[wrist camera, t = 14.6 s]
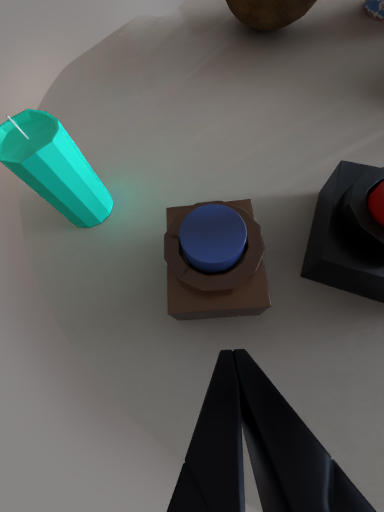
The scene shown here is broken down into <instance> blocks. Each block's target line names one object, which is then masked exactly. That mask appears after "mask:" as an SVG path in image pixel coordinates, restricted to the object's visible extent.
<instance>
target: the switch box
mask: <svg viewBox="0 0 384 512" xmlns="http://www.w3.org/2000/svg"><path fill="white" fill-rule="evenodd" d="M383 181H384V167H382V168H379V167H374V166H368V165H363V164H358V163H353V162H348V161H342V160H341V161H340V163H339V164H338V166H337V167H336V169H335V170H334V172H333V173H332V174H331V176H330V177H329V179H328V180H327V182H326V183H325V185H324V186H323V188H322V189H321V191H320V192H319V196H318V201H317V205H316V209H315V214H314V218H313V222H312V227H311V231H310V235H309V240H308V244H307V249H306V253H305V257H304V262H303V266H302V270H301V275H300V277H303V278H306V279H310V280H313V281H316V282H319V283H322V284H325V285H328V286H332V287H335V288H338V289H341V290H344V291H347V292H350V293H354V294H357V295H360V296H363V297H366V298H369V299H372V300H376V301H379V302H382V303H384V227H383V226H382V225H380V224H379V223H378V222H376V221H375V219H374V217H373V216H372V214H371V212H370V210H369V208H368V199H369V196H370V194H371V193H372V191H373V190H374V189H375V188H376V187H377V186H378V185H379V184H380V183H382V182H383Z"/></svg>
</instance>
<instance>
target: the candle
mask: <svg viewBox="0 0 384 512" xmlns="http://www.w3.org/2000/svg"><path fill="white" fill-rule="evenodd" d="M7 117H8V120H7V121H6V122H4V123H2V124H1V125H0V161H1V162H2V163H3V164H4V165H5V166H6V167H8V168H9V169H10V170H11V171H12V172H14V173H15V174H16V175H17V176H18V177H19V178H20V179H22V180H23V181H24V182H25V183H26V184H27V185H29V186H30V187H31V188H32V189H33V190H34V191H36V192H37V193H38V194H39V195H40V196H41V197H43V198H44V199H45V200H46V201H47V202H49V203H50V204H51V205H52V206H53V207H54V208H56V209H57V210H58V211H59V212H60V213H61V214H63V215H64V216H65V217H66V218H67V219H68V220H70V221H71V222H72V223H73V224H75V225H76V226H77V227H86V228H90V227H93V226H95V225H98V224H100V223H102V222H103V221H104V220H105V219H106V218H107V217H108V216H109V215H110V213H111V210H112V207H113V201H112V198H111V195H110V193H109V192H108V190H107V189H106V188H105V186H104V185H103V183H102V182H101V180H100V179H99V178H98V176H97V175H96V173H95V172H94V170H93V169H92V168H91V166H90V165H89V163H88V162H87V160H86V159H85V158H84V156H83V155H82V153H81V152H80V150H79V149H78V147H77V146H76V145H75V143H74V142H73V140H72V139H71V137H70V136H69V135H68V133H67V132H66V130H65V129H64V127H63V126H62V125H61V123H60V122H59V120H58V119H57V118H55V117H54V116H52V115H51V114H49V113H47V112H46V111H39V110H33V109H27V110H25V111H23V112H21V113H19V114H17V115H15V116H13V117H12V118H10V117H9V116H8V115H7Z"/></svg>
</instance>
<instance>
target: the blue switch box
mask: <svg viewBox="0 0 384 512" xmlns="http://www.w3.org/2000/svg"><path fill="white" fill-rule="evenodd" d="M209 204H218V205H223V206H226V207H229V208H231V209H233V210H234V211H235V212H237V213H238V214H239V215H240V216H241V218H242V219H243V221H244V223H245V225H246V230H247V238H246V242H245V245H244V249H243V252H242V255H241V257H240V259H239V260H238V261H237V262H236V263H235V264H234V265H233V266H232V267H231V268H229V269H227V270H224V271H221V272H216V273H211V272H204V271H201V270H199V269H197V268H195V267H194V266H192V265H191V264H190V263H189V261H188V260H187V259H186V257H185V255H184V252H183V249H182V246H181V243H180V238H179V231H180V227H181V224H182V222H183V220H184V219H185V217H186V216H187V215H188V214H189V213H190V212H191V211H193V210H194V209H196V208H198V207H201V206H204V205H209ZM264 251H265V247H264V243H263V238H262V233H261V228H260V225H259V224H258V223H257V222H256V221H255V220H254V215H253V210H252V205H251V200H250V199H246V200H237V201H227V202H223V201H212V202H203V203H197V204H194V205H190V206H180V207H171V208H167V232H166V233H165V236H164V258H165V261H166V262H167V292H168V314H169V315H170V316H172V317H173V318H175V319H176V320H191V319H205V318H220V317H234V316H249V315H260V314H261V313H263V312H264V311H266V310H267V309H269V308H270V307H272V305H271V300H270V295H269V290H268V285H267V280H266V275H265V270H264V265H263V260H262V256H263V254H264Z"/></svg>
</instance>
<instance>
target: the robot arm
mask: <svg viewBox="0 0 384 512" xmlns="http://www.w3.org/2000/svg"><path fill="white" fill-rule="evenodd" d="M241 424H242V425H241ZM242 428H243V433H244V437H245V441H246V445H247V449H248V453H249V457H250V461H251V465H252V469H253V473H254V477H255V481H256V485H257V489H258V493H259V497H260V501H261V505H262V509H263V512H376V510H375V509H374V508H373V507H372V506H371V504H370V503H369V502H368V501H367V500H366V498H365V497H364V496H363V495H362V494H361V492H360V491H359V490H358V489H357V488H356V486H355V485H354V484H353V483H352V482H351V480H350V479H349V478H348V477H347V475H346V474H345V473H344V472H343V470H342V469H341V468H340V467H339V465H338V464H337V463H336V462H335V461H334V460H333V459H331V456H330V454H329V453H328V452H327V451H326V449H325V448H324V447H323V446H322V445H321V443H320V442H319V441H318V440H317V438H316V437H315V436H314V435H313V433H312V432H311V431H310V430H309V428H308V427H307V426H306V425H305V423H304V422H303V421H302V420H301V418H300V417H299V416H298V415H297V413H296V412H295V411H294V410H293V408H292V407H291V406H290V405H289V403H288V402H287V401H286V400H285V398H284V397H283V396H282V395H281V393H280V392H279V391H278V390H277V388H276V387H275V386H274V385H273V383H272V382H271V381H270V380H269V378H268V377H267V376H266V375H265V373H264V372H263V371H262V370H261V368H260V367H259V366H258V365H257V363H256V362H255V361H254V360H253V358H252V357H251V356H250V355H249V353H248V352H247V351H246V350H245V349H235V350H233V351H232V350H221V351H220V353H219V356H218V359H217V362H216V365H215V368H214V371H213V374H212V377H211V381H210V384H209V387H208V390H207V393H206V396H205V399H204V402H203V405H202V408H201V411H200V414H199V417H198V420H197V423H196V427H195V430H194V433H193V436H192V439H191V442H190V445H189V448H188V451H187V454H186V457H185V463H183V466H182V469H181V472H180V475H179V478H178V481H177V484H176V487H175V490H174V492H173V495H172V498H171V501H170V504H169V506H168V510H167V512H245V495H244V472H243V448H242Z"/></svg>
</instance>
